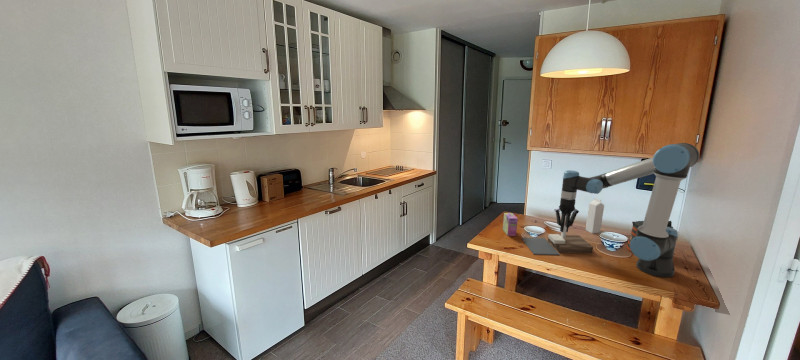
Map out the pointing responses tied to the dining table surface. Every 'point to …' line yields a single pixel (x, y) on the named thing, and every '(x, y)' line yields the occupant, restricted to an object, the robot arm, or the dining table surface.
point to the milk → (594, 216)
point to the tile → (556, 238)
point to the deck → (573, 245)
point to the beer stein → (634, 231)
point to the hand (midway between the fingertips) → (563, 236)
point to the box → (510, 224)
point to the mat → (540, 246)
